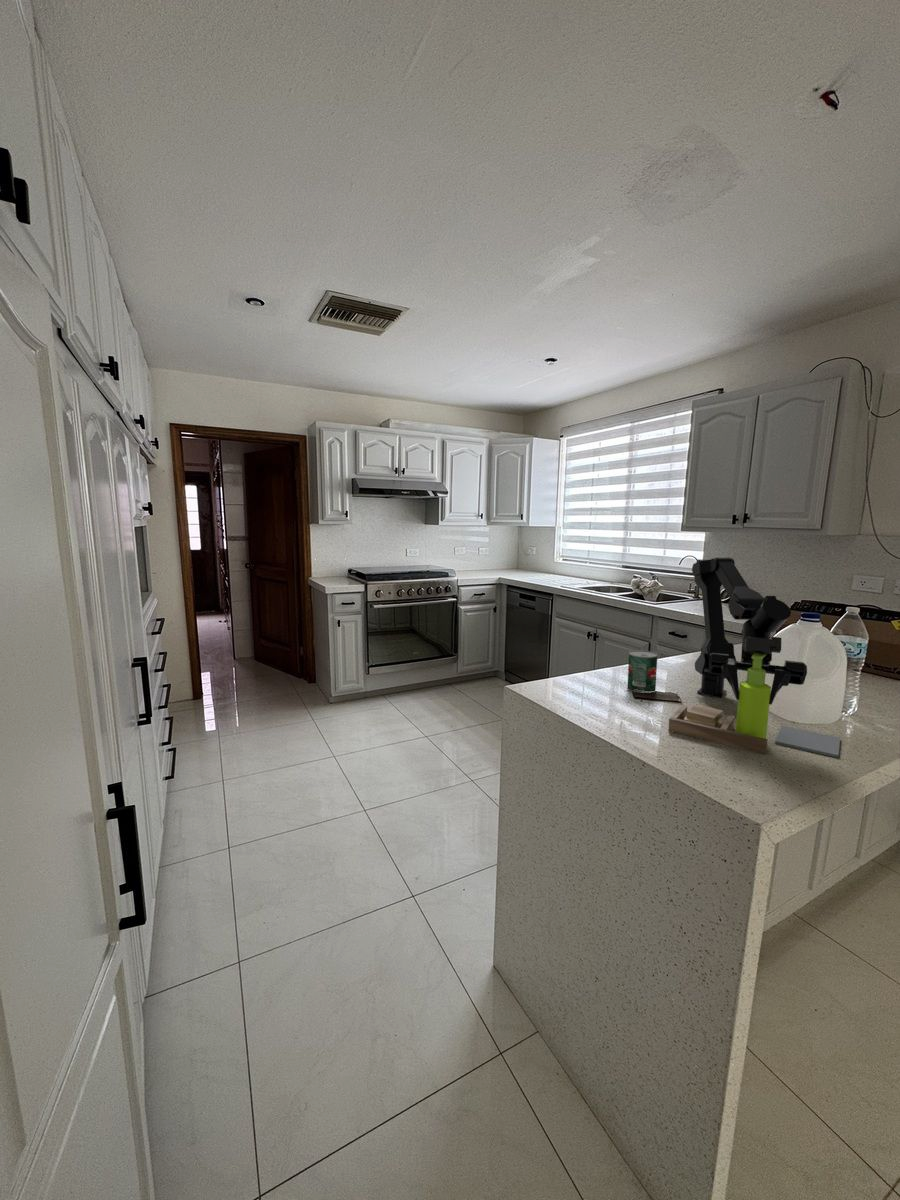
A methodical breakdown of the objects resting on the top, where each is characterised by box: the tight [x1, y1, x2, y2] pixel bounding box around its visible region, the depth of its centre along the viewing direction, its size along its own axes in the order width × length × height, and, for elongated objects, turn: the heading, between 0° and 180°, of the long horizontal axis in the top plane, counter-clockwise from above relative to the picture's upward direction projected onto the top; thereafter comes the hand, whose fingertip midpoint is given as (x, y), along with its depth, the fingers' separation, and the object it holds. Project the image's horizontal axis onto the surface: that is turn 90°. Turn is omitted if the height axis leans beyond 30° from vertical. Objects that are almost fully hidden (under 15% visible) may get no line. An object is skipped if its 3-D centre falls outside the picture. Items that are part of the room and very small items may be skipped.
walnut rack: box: [668, 705, 768, 755], centre depth 113 cm, size 11×20×3 cm, turn 50°
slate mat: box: [774, 725, 841, 759], centre depth 109 cm, size 11×11×1 cm
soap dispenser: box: [734, 652, 772, 739], centre depth 109 cm, size 6×7×20 cm
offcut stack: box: [684, 704, 724, 728], centre depth 116 cm, size 8×7×4 cm
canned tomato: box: [626, 649, 658, 692], centre depth 144 cm, size 8×8×11 cm
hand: (753, 701), depth 108 cm, fingers closed on soap dispenser, 6 cm apart
